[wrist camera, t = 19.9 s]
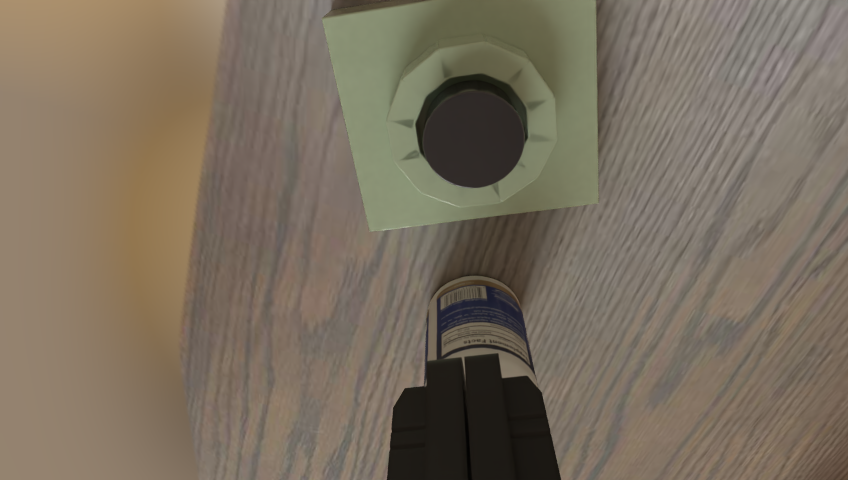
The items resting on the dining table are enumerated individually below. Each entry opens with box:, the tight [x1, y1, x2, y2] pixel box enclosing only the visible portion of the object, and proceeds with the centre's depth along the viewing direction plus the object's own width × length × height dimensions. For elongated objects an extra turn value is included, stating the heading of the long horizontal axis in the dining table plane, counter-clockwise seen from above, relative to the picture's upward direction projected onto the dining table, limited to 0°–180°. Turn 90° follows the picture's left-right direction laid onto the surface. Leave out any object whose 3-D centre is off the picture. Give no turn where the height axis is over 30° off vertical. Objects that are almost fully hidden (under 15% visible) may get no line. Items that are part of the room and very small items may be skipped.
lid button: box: [423, 80, 525, 188], centre depth 24 cm, size 4×4×2 cm
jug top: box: [322, 0, 599, 232], centre depth 26 cm, size 11×10×4 cm
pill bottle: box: [424, 276, 538, 388], centre depth 29 cm, size 5×5×10 cm
